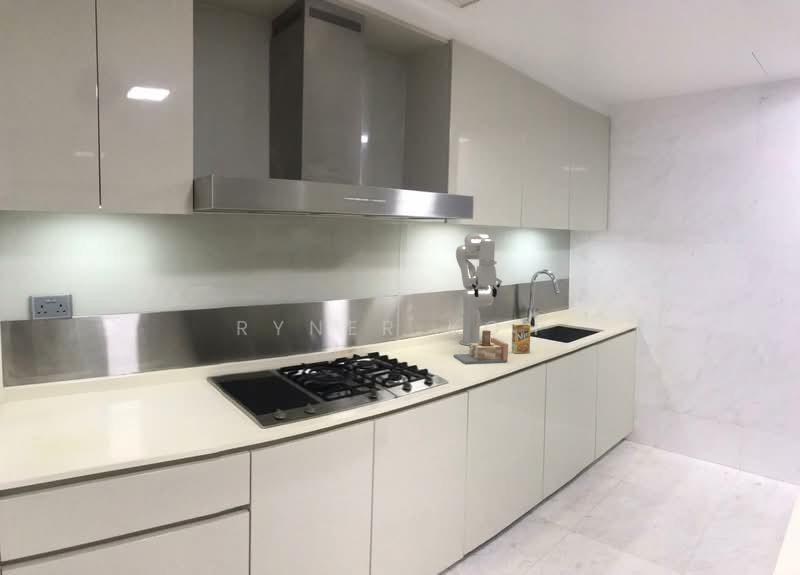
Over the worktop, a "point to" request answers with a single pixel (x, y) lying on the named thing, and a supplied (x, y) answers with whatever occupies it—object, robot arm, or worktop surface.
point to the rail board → (471, 360)
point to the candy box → (521, 338)
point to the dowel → (486, 338)
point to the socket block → (485, 351)
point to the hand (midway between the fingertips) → (485, 296)
